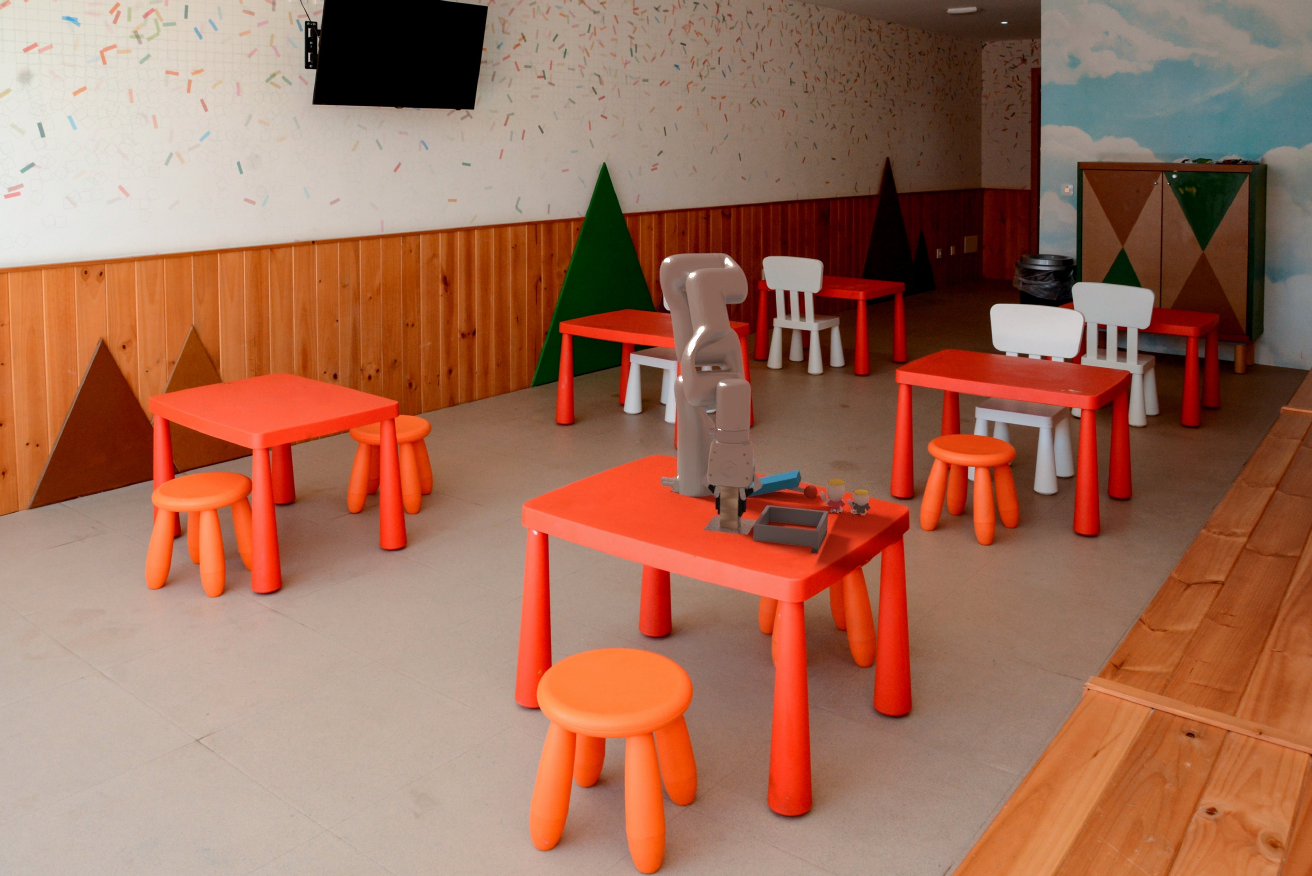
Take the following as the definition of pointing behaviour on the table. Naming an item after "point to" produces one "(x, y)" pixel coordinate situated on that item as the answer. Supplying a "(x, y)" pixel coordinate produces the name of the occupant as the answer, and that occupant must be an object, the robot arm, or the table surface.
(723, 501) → the strut
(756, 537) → the bin
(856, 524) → the table surface
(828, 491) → the toy figures
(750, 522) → the square lid with knob
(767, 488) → the lever
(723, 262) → the robot arm
